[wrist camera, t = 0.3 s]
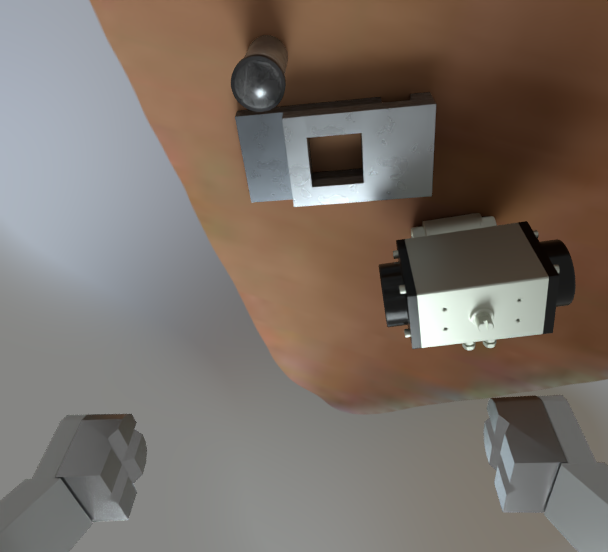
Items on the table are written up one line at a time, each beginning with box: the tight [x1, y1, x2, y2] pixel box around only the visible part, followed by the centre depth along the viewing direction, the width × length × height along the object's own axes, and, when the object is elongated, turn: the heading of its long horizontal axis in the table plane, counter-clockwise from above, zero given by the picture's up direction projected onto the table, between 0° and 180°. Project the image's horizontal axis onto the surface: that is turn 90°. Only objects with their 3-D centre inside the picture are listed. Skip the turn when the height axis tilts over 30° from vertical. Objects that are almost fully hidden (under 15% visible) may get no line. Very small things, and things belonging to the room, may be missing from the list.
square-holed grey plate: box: [235, 92, 436, 207], centre depth 54 cm, size 10×20×4 cm, turn 96°
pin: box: [231, 35, 288, 112], centre depth 47 cm, size 5×5×9 cm
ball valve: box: [379, 213, 575, 350], centre depth 55 cm, size 18×8×18 cm, turn 101°
